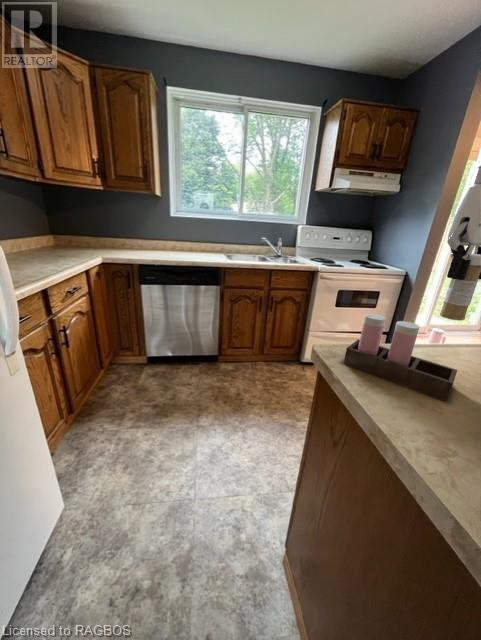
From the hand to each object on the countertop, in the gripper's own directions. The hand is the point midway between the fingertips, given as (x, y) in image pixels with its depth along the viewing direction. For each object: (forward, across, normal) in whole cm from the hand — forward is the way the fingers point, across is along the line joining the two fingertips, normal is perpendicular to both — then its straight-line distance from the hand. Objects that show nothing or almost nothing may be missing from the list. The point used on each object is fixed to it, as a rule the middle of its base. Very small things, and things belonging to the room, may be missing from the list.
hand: (464, 277), depth 56 cm
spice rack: (+26, +4, -6) cm, 27 cm away
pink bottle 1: (+25, +8, -13) cm, 30 cm away
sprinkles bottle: (+9, 0, 0) cm, 9 cm away
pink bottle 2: (+26, +4, -6) cm, 27 cm away
